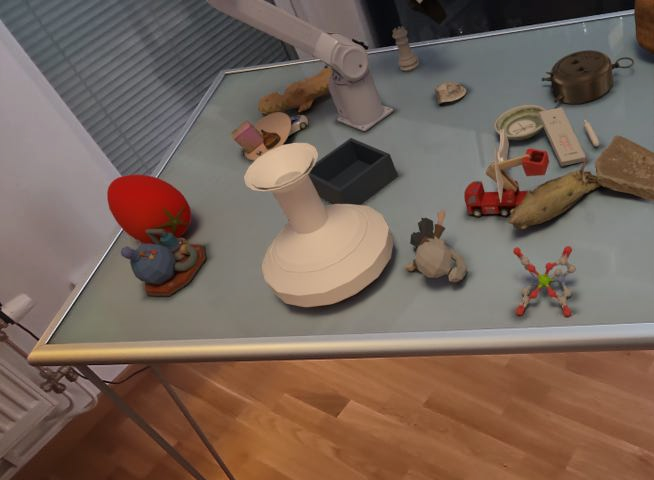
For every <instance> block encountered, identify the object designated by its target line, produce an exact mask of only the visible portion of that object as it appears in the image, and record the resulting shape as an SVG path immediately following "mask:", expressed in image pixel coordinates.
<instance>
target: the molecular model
mask: <svg viewBox="0 0 654 480" xmlns="http://www.w3.org/2000/svg"><path fill="white" fill-rule="evenodd" d="M512 252H513V254H514V255H515V256H516V257H517V258H518V259H519V261H520V264H521V265H522V266H523V268H524V270H525V271H528V272H529V273H530V275H531V277H532V279H531V282H530V283H529V285H528V286H527V287H523V288H522V289H521V291H520V292H521V294H522V296H523V297H522V298H521V301H520V303H519V305H518V307H517V308H516V310H515V314H516V315H518V316H522V315H523V314H524V311H525V310H526V307H527V305H528V304H530V302H531V299H537V298H538V296H539V292H540V290H541V289H542V287H545V288H546V290H547V291H548V293H547V295H548V296H549V298H554V299H556V300H557V303H558V304H559V305H560V306H561V308H562V310H563V315H564V316H565V317H570V316H571V314H572V311H571V309H570V308H569V307H568V305H567V303H568V301H567V298H570V297H571V296H572V289H570V288H567V285H566V282H565V280H566V279H565V278H566V277H567V276H568V275H569V274H574V273H575V272H576V270H577V268H576V267H577V266H576V265H575V264H570V263H568V260H569V258H570V256H571V253H572V252H573V248H572V246H570V245H566V246H565V247H564V248H563V250H562V253H561V256H560V258H559V259H558V260H557V261H555V262H553V263H552V262H546V264H545V267H544V268H545V271H544V274H541V273H539V272H538V271H537V270H536V266H535V265H534V264H532V262H530V259H529V257H527V256H526V255H524V254H523V253H522V250H521V248H520V247H514V248H513V250H512ZM559 265H560V266H565V267H566V269H567V270H566V271H565V272H564V273H563V270H562V269H561V268H556V269H555V270H554V272H553V274H551V275H550V276H548V275H549V273H550V271H552V270H553V268H555V267H557V266H559ZM551 282H558V283H560V284H561V286H562V288H563V292H562V295H563V296H559V295H558V294H557V293H556V290H554V289H552V287H551V286H550V285H549V284H550V283H551ZM535 284H536V285H537V284H538V285H537V287H536V289H535V290H532V291H531V292H530V290H531V289H532V288H533V286H534V285H535Z"/></svg>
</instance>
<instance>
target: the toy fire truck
mask: <svg viewBox="0 0 654 480" xmlns="http://www.w3.org/2000/svg"><path fill="white" fill-rule="evenodd" d="M549 164H550V159H549V154H548V151H547V150H542V149H536V148H535V149H534V148H530V147H529V148H527V149H526V152H525V154H523V155H519V156H516V157H512V158H509V159H507V160H505V161H501V162H498V167H499V170H500V171H501V172H500V173H501V176H502V179H503V181H504V185H503V192H502V198H501V203H500V197H499V191H485V187H484V185H483V181H482V180H476V181H472V182H470V184H468V185H467V187H466V188H465V190H464V197H463V198H464V203H465V205H466V206H465V207H466V210H467V213H468V214H469V215H473V216H474V217H478V218H480V217H481V216H482V214H483V215H500V216H503V217H508V216H510V215H509V214H510V211H511V210H512V209H514V208H516V206H518V205H519V204H521V202H522V201H523V200H524V197H525V195H526V193H527V192H528V191H529V190H520V186H519V182H518V181H517V180H514V179H513V178H512V177H511V176H510V175H509V174H508V173H507V172H506V170H508V169H512V168H516V167H519V166H522V168H523V172H524V173H525V176H526V177H536V176H545V175H546V173H547V170H548V167H549ZM504 170H505V171H504ZM485 175H486V176H487V177H489V178H490V179H491V180H492V181H494V182H495V183H496V184H497V178H496V169H495V161H492V163H491V164H490V165H489V166H488V167H487V168H486V170H485Z"/></svg>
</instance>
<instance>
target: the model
mask: <svg viewBox="0 0 654 480" xmlns="http://www.w3.org/2000/svg"><path fill="white" fill-rule="evenodd" d="M145 232H146V233H147V235H148V236H149V237H150V238H151V239H152V241H153V242H154V243H155V244H156V245H155V244H145V243H142V244H141V245H139V247H137V248H136V249H134V248H131V247H129V246H124V247H122V248H121V250H120V255H121V256H122V257H123V258H125V259H127V260H129V264H130V267H131V270H132V272H133V275H134V277H135V278H136V279H138V280H139V281H140V282H144V285H145V286H144V287H145V289H144V290H145V294H146V296H148V297H171V296H172V295H173V294H175V293H176V292H178V291H180V290H181V289H183V288H184V287H186V286H187V285H189V284H190V283H191V282H192V280H193V279H194V277H195V276H196V275H197V273H198V272H199V270H200V269H201V267H202V266H203V264H204V263H205V261H206V260H207V255H206V247H205V245H201V244H189V242H188V240H186V239H185V238H183V237H180V238H175V236H174V235H173V234H172V233H166V232H165V230H164V229H146V230H145ZM154 234H161V236H162V237H161V238H160V241H161V242H160V241H159V240H158V238H157V237H156V236H155V235H154ZM162 244H163V245H162Z"/></svg>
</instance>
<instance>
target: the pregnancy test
mask: <svg viewBox="0 0 654 480" xmlns="http://www.w3.org/2000/svg"><path fill="white" fill-rule="evenodd" d="M539 118H540V120H541V123H542V125H543V129H544V131H545V134H546V136H547V138H548V140H549V143H550V144H551V147H552V150H553V151H554V153H555V156H556V158H557V161H558V162H559V164H560V167H565V166H568V165H574V164H579V163H584V162H585V160H587V156H586V154H585V152H584V150H583V148H582V146H581V144H580V142H579V140H578V138H577V135H576V133H575V131H574V129H573V128H572V125H571V123H570V121H569V119H568V117H567V115H566V112H565V110H564V108H563V106H562V107H557V108H552V109H546V111H541V112H539ZM583 123H584V124H583V128H584V130H585V131H586V133H587V135H588V138H589V139H590V141H591V143H592V145H593V147H595V148H597V147H599V146H600V140H599V138H598V136H597V134H596V132H595V130H594V129H593V127H592V124H591V122H589V121H587V119H584V120H583Z"/></svg>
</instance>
